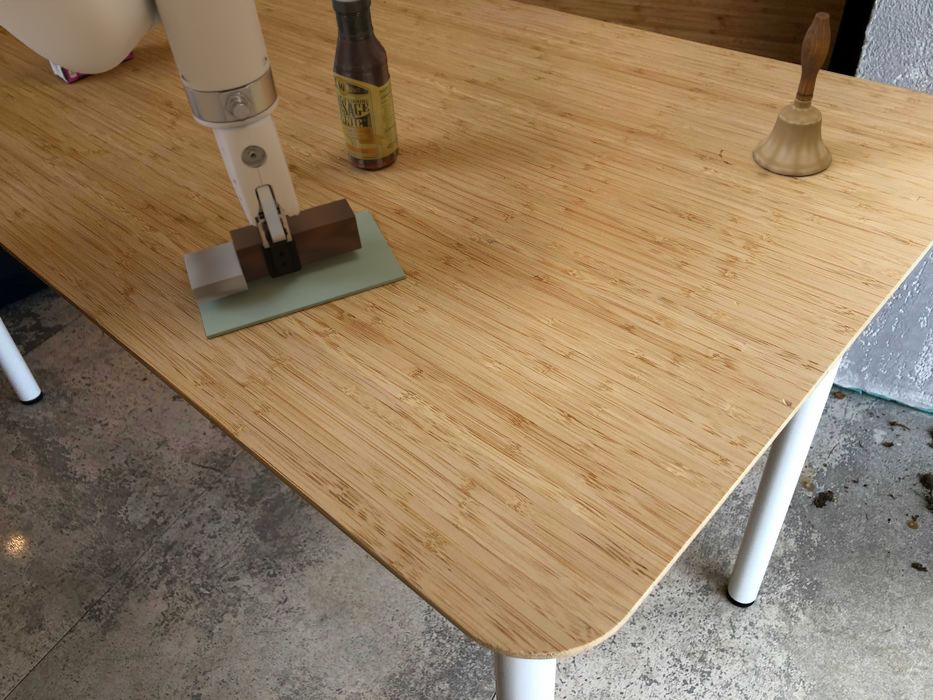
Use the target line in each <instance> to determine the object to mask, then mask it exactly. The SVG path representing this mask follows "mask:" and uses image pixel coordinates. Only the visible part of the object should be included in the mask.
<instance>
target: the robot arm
mask: <svg viewBox="0 0 933 700" xmlns="http://www.w3.org/2000/svg"><path fill="white" fill-rule="evenodd" d="M0 26H1V27H2V28H3V29H5V30H6V31H7V32H8V33H10V34H11V35H12V36H13V37H15V38H16V39H17V40H19V41H20V42H21V43H23V44H24V45H25V46H27V47H28V49H31V50H32V51H33V52H35V53H36V54H38V55H39V56H41V57H43V58H44V59H46V60H48V62H49V61H51V62H53V63H54V64H56V65H59V66H61V67H63V68H65V69H68V70H71V71H74V72H78V73H83V74H91V75H96V74H102V73H105V72H108V71H111V70H113V69H114V68H115V67H118V66H119V65H120V64H121V63H123V62H124V61H123V60H124V59H125V58H126V57H127V56H128V55H129V53H130V52H131V51H132V52H133V50H135V48H136V47H137V45H138V44H139V43H140V42H141V40H142V39H143V38H144V37H145V36H146V35H147V34H148V33H150V32H152V31H153V30H155V29H156V28H158V27H159V26H162V27H163V30H164V33H165V36H166V38H167V41H168V45H169V47H170V51H171V54H172V56H173V57H172V58H173V60H174V62H175V65H176V69H177V71H178V74H179V77H180V80H181V84H182V86H183V89H184V92H185V95H186V99H187V102H188V105H189V108H190V111H191V114H192V117H193V119H194V121H195V122H196V123H197V124H199V125H200V126H203V127H205V128H209V129H212V133H213V135H214V138H215V141H216V144H217V147H218V150H219V154H220V156H221V159H222V161H223V164H224V166H225V170H226V172H227V175H228V177H229V180H230V182H231V185H232V188H233V190H234V192H235V194H236V196H237V198H238V200H239V203H240V205H241V207H242V210H243V212H244V214H245V216H246V218H247V221H248V222H249V225H253V226H256V227H258V229H259V233H260V236H261V239H262V242H263V243H261V244H260V245H261V248H262V252H263V255H264V258H265V261H266V265H267V268H268V271H269V274H270V277H271V278H277V277H280V276H284V275H287V274H290V273H294V272H297V271H300V270H301V269H302V266H301V262H300V259H299V255H298V251H297V248H296V244H295V240H294V237H293V235H291V233H290V230H289V226H288V223H287V219H286V215H288V216H289V217H291V216H294V215H295V216H297V215H298V214H299V213H300V211H301V206H300V204H299V200H298V198H297V193H296V190H295V187H294V183H293V180H292V177H291V173H290V169H289V165H288V162H287V158H286V155H285V151H284V147H283V145H282V141H281V138H280V134H279V132H278V131H279V130H278V128H277V125H276V122H275V119H274V117H273V113H274V111H275V110H276V109H277V108H278V106H279V104H280V98H279V93H278V89H277V85H276V81H275V77H274V74H273V70H272V66H271V62H270V58H269V54H268V49H267V46H266V42H265V39H264V34H263V30H262V27H261V22H260V19H259V14H258V9H257V7H256V3H255V0H0ZM122 61H123V62H122ZM264 224H267V226H268V229H269V230H266V232H265V229H264V226H263V225H264Z"/></svg>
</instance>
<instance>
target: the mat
mask: <svg viewBox="0 0 933 700" xmlns="http://www.w3.org/2000/svg"><path fill="white" fill-rule="evenodd" d="M354 214H355V217H356V221H357V226H358V231H359V236H360V240H361V245H362V248H361V249H357V250H354V251H351V252H347V253H344V254H340V255H337V256H334V257H330V258H327V259H324V260H320V261H317V262H314V263H310V264H307V265H304V266H302V269H301V270H300V271H297V272H294V273H290V274H287V275H284V276H280V277H277V278H271V277H270V276H267V277H263V278H260V279H257V280H253V281H250V282H246V283H247V286H248V290H245V291H242V292H238V293H235V294H232V295H228V296H225V297H222V298H218V299H215V300H212V301H208V302H205V303H202V304H198V308H199V312H200V316H201V321H202V323H203V327H204V332H205V336H206V339H207V340H209V339H213V338H217V337H220V336H222V335H226V334H230V333H233V332H235V331H238V330H239V331H240V330H242V329H246V328H248V327H251V326H255V325H258V324H260V323H261V324H262V323H264V322H268V321H271V320H274V319H278V318H280V317H285V316H287V315H291V314H294V313H297V312H300V311H304V310H307V309H310V308H314V307H317V306H320V305H324V304H327V303H330V302H334V301H337V300H339V299H343V298H346V297H350V296H353V295H356V294H359V293H362V292H366V291H369V290H372V289H376V288H379V287H382V286H385V285H388V284H392V283H395V282H398V281H402V280H405V279H407V276H406V273H405V271H404V270H403V268H402V266H401V265H400V262H399V261H398V259H397V257H396V256H395V253H394V252H393V251H392V249H391V247H390V246H389V243H388V242H387V240H386V238H385V236H384V235H383V233H382V231H381V229H380V227H379V226H378V224H377V222H376V220H375V219H374V217H373V216H372V213H371V211H370V210H369V209H366V210H361V211H359V212H356V213H355V212H354Z"/></svg>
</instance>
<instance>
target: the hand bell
mask: <svg viewBox="0 0 933 700" xmlns="http://www.w3.org/2000/svg"><path fill="white" fill-rule="evenodd" d="M830 45H831V26H830V14H829V13H828V12H826V11H825V12H823V11H819V12H817V13H816V14H815V16H814V18H813V20H812V22H811V24H810V25H809V27H808V28H807V31H806V33H805V35H804V38H803V40H802V45H801V52H800V65H801V75H800V80H799V82H798V87H797V91H796V94H795V98H794V102H793V103H790V104H787V105H784V106H783V107H782V108H780V110H779V112H778V114H777V117H776V120H775V123H774V126H773V128H772V130H771V131H770V133H769V134H768V135H767V136H766V137H765V138H764V139H762V140H760V141H759V142H758V143H757V145H756V146H755V147H754V149H753V153H752V155H753V159H754V161H755V162H756V163H757V164H758V165H759V167H762V168H763V169H766V170H768V171H770V172H772V173H775V174H780V175H784V176H798V177H799V176H800V177H802V176H809V175H810V176H811V175H815V174H819V173H820V172H823V171H824V170H826V169H827V168H828V167H829V166H830V165H831V163H832V159H833V155H832V153H831V151H830V149H829V147H828V146H827V145H826V144H825V142H824V140H823V136H822V122H823V114H822V111H821V110H820V109H819V108H817V107H815V106H813V105H812V102H813V101H812V100H813V98H814V91H815V87H816V81H817V77H818V74H819V72H820V70H821V69H822V67H823V66H824V63H825V61H826V58H827V56H828V54H829V53H828V52H829V49H830Z"/></svg>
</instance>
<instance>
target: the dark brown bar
mask: <svg viewBox="0 0 933 700" xmlns="http://www.w3.org/2000/svg"><path fill="white" fill-rule="evenodd" d="M286 219H287V223H288V226H289V230H290V233H291V235H293V237H294V240H295V244H296V248H297V251H298V255H299V259H300V262H301V266H304V265H307V264H310V263H314V262H317V261H320V260H324V259H327V258H330V257H334V256H337V255H340V254H344V253H347V252H351V251H354V250H357V249H361V248H362V245H361V240H360V236H359V231H358V226H357V221H356V217H355V212H354V211H353V209H352V207H351V205H350V204H349V202H348V200H347V198H346V197H345V198H341V199H338V200H337V199H336V200H334V201H330V202H327V203H324V204H320V205H317V206H313V207H309V208H306V209H303V210H300V213H299V214H298V215H297V216H295V215H294V216H291V217H289V216H288V214H286ZM263 226H264V229H265V232H266V230H269V229H268V226H267V224H264V225H263ZM229 236H230V238H231V240H232V241H228V242H225V243H221V244H218V245H214V246H211V247H207V248H204V249H199V250H196V251H193V252H190V253H189V252H188V253H187V254H183V259H184V260H183V261H184V263H185V268H186V271H187V276H188V281H189V284H190V287H191V291H192V295H193V296H194V299H195V301H196V303H197V305H199V304H202V303H205V302H208V301H212V300H215V299H218V298H222V297H225V296H228V295H232V294H235V293H238V292H242V291H245V290H248V286H247V283H246V282H250V281H253V280H257V279H260V278H263V277H267V276H270V274H269V271H268V268H267V265H266V261H265V258H264V255H263V252H262V248H261V245H260V244H261V243H263V242H262V239H261V236H260V233H259V229H258V227H256V226H253V225H251V224H249V225H245V226H242V227H239V228H236V229H231V230H229Z"/></svg>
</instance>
